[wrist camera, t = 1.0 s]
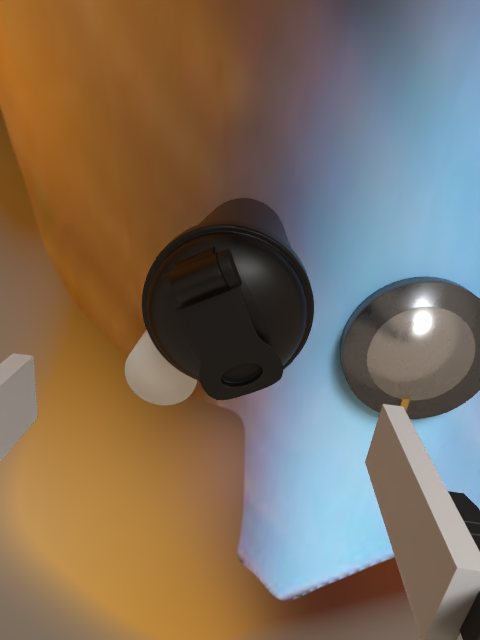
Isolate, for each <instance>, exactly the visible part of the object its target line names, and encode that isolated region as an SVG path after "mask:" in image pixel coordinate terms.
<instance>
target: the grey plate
mask: <svg viewBox="0 0 480 640" xmlns="http://www.w3.org/2000/svg"><path fill="white" fill-rule="evenodd" d="M340 358H341V364H342V367H343V371H344V374H345V377H346V379H347V382H348V384H349V386H350V388H351V389H352V391H353V392H354V394H355V395H356V396H357V397H358V398H359V399H360V400H361V401H362V402H363V403H364V404H366V405H367V406H369V407H370V408H372V409H373V410H375V411H377V412H380V411H381V408H382V405H383V404H388V405H395V406H402V407H404V409H405V411H406V413H407V415H408V417H409V419H420V418H428V417H432V416H436V415H440V414H443V413H446V412H448V411H450V410H452V409H455V408H457V407H458V406H460V405H462V404H463V403H465V402H466V401H468V400H469V399H470V398H472V397H473V396H474V395H475V394H476V393H477V392H478V391H479V390H480V298H478V297H477V296H475V295H474V294H473V293H471V292H470V291H469V290H467V289H466V288H464V287H463V286H461V285H459V284H457V283H455V282H452V281H449V280H446V279H441V278H436V277H414V278H408V279H403V280H400V281H397V282H394V283H391V284H389V285H386V286H384V287H383V288H381V289H379V290H377V291H376V292H374V293H373V294H371V295H370V296H369V297H367V298H366V299H365V300H364V301H363V302H362V303H361V304H360V305H359V306H358V307H357V308H356V310H355V311H354V312H353V314H352V315H351V317H350V318H349V320H348V322H347V324H346V326H345V328H344V331H343V334H342V337H341V343H340Z"/></svg>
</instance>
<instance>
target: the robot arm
mask: <svg viewBox="0 0 480 640" xmlns="http://www.w3.org/2000/svg"><path fill="white" fill-rule="evenodd" d="M37 418H38V413H37V399H36V384H35V371H34V356H30V355H23V354H15V353H13V354H12V355H10V356H9V357H8V358H7V359H6V360H4V361H3V362H2V363H1V364H0V462H1V460H2V459H3V458H4V457H5V456H6V454H7V453H8V452H9V451H10V450H11V449H12V447H13V446H14V445H15V444H16V442H17V441H18V440H19V439H20V438H21V437H22V435H23V434H24V433H25V432H26V431H27V429H28V428H29V427H30V426H31V425H32V424H33V422H34V421H35V420H36V419H37ZM365 463H366V466H367V470H368V473H369V476H370V479H371V482H372V485H373V489H374V492H375V495H376V498H377V501H378V504H379V508H380V511H381V514H382V517H383V520H384V524H385V527H386V530H387V533H388V536H389V539H390V543H391V546H392V549H393V552H394V555H395V558H396V562H397V565H398V568H399V571H400V574H401V577H402V581H403V584H404V587H405V590H406V593H407V596H408V600H409V603H410V606H411V609H412V612H413V615H414V619H415V622H416V625H417V628H418V631H419V634H420V638H421V640H456V639H457V638H458V636H459V634H460V633H461V635H462V638H463V640H480V510H479V508H478V507H477V506H476V505H475V504H474V503H473V502H472V501H471V500H470V499H469V498H468V497H467V496H466V495H465V494H464V493H456V492H449V491H447V489H446V487H445V485H444V483H443V481H442V479H441V477H440V475H439V474H438V472H437V470H436V468H435V466H434V464H433V462H432V460H431V458H430V457H429V455H428V453H427V451H426V449H425V447H424V445H423V443H422V441H421V439H420V438H419V436H418V434H417V432H416V430H415V428H414V426H413V424H412V422H411V421H410V419H409V417H408V415H407V413H406V411H405V409H404V407H402V406H395V405H388V404H383V405H382V408H381V411H380V415H379V418H378V421H377V425H376V428H375V431H374V435H373V438H372V441H371V445H370V448H369V451H368V455H367V458H366V461H365Z"/></svg>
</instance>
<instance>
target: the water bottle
mask: <svg viewBox="0 0 480 640" xmlns="http://www.w3.org/2000/svg"><path fill="white" fill-rule="evenodd" d="M142 312H143V318H144V323H145V326H146V329H147V332H148V334H149V336H150V338H151V340H152V342H153V344H154V345H155V347H156V348H157V350H158V351H159V352H160V354H161V355H162V356H163V357H164V358H165V359H166V360H167V361H168V362H169V363H170V364H171V365H172V366H174V367H175V368H176V369H178V370H179V371H180V372H182V373H184V374H185V375H187V376H189V377H191V378H193V379H196V380H198V381H200V383H201V385H202V387H203V389H204V390H205V392H206V393H207V394H208V395H209V396H211V397H212V398H214V399H216V400H227V399H232V398H236V397H240V396H243V395H246V394H249V393H252V392H255V391H258V390H261V389H263V388H266V387H268V386H270V385H272V384H274V383H276V382H277V381H278V380H280V379H281V377H282V373H283V369H285V368H286V367H287V366H288V365H289V364H291V363H292V362H293V360H294V359H295V358H296V356H297V355H298V354H299V353H300V351H301V350H302V348H303V346H304V345H305V343H306V341H307V338H308V336H309V333H310V330H311V327H312V322H313V315H314V300H313V293H312V289H311V285H310V282H309V279H308V276H307V273H306V270H305V268H304V266H303V264H302V262H301V261H300V259H299V257H298V256H297V255H296V253H295V252H294V251H293V250H292V248H291V246H290V244H289V241H288V238H287V236H286V233H285V230H284V228H283V225H282V223H281V221H280V219H279V217H278V216H277V214H276V213H275V212H274V211H273V210H272V209H271V208H270V207H268V206H267V205H265V204H264V203H262V202H259V201H257V200H253V199H247V198H239V199H234V200H230V201H227V202H225V203H223V204H222V205H220V206H219V207H217V208H216V209H215V210H214V211H213V212H212V213H211V214H210V215H209V216H207V217H206V218H205V219H204V220H203V221H202V222H201V223H200V224H199V225H197V226H194V227H192V228H190V229H188V230H186V231H184V232H183V233H181V234H180V235H178V236H177V237H176V238H175V239H173V240H172V241H171V242H170V243H169V244H168V245H167V246H166V247H165V248H164V249H163V250H162V251H161V253H160V254H159V255H158V256H157V257H156V260H155V261H154V263H153V265H152V266H151V268H150V270H149V272H148V275H147V278H146V281H145V284H144V289H143V295H142Z"/></svg>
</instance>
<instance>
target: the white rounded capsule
mask: <svg viewBox="0 0 480 640" xmlns="http://www.w3.org/2000/svg"><path fill="white" fill-rule="evenodd" d="M125 377H126V380H127V383H128V384H129V386H130V388H131V389H132V390H133V392H134V393H135V394H136V395H138V396H139V397H140V398H142V399H143V400H145V401H147V402H149V403H152V404H156V405H163V406H165V405H174V404H177V403H180V402H182V401H184V400H185V399H187V398H188V397H189V396H190V395H191V394H192V392H193V391H194V389H195V387H196V384H197V381H198V380H196V379H193V378H191V377H189V376H187V375H185V374H184V373H182V372H180V371H179V370H178V369H176V368H175V367H174V366H172V365H171V364H170V363H169V362H168V361H167V360H166V359H165V358H164V357H163V356H162V355H161V354H160V352H159V351H158V350H157V348H156V347H155V345H154V344H153V342H152V340H151V338H150V336H149V334H148V332H147V329H146V330H145V331H144V333H143V335H142V336H141V338H140V339H139V341H138V342H137V344H136V345H135V347H134V348H133V350H132V351H131V353H130V355H129V356H128V358H127V360H126V364H125Z"/></svg>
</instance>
